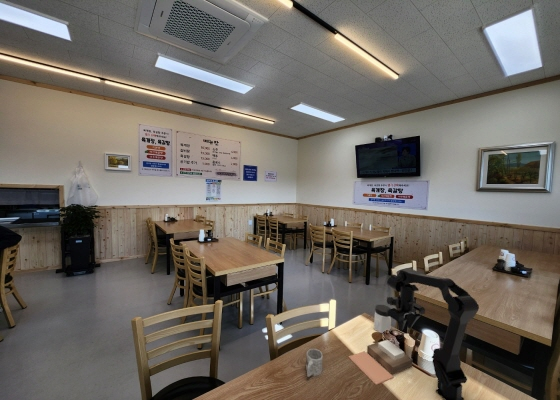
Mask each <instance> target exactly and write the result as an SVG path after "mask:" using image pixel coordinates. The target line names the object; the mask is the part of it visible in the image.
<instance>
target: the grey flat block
mask: <svg viewBox="0 0 560 400" xmlns="http://www.w3.org/2000/svg"><path fill="white" fill-rule="evenodd" d="M384 340H385V341H383V340H381V341H382V342H380V341H378V342H379V343H378V347H379V348H380V349H381V350H382V351H383V352H385V353H386V354H387V355H388V356H390V357H391V358H392V359H393V360H397V359H400V358H402V357H404V353H405V351H403V350H402V349H401V348H400V347H398V346H397V345H395V344H394V343H393V342H391V341H390V340H388V339H384Z"/></svg>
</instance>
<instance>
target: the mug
mask: <svg viewBox="0 0 560 400" xmlns="http://www.w3.org/2000/svg"><path fill="white" fill-rule="evenodd" d="M305 362H306V363H305V365H306V367H305V368H306V376H307V378H309V377H311V376H313V377H314V376H316V377H317V376H320V375H321V374H322V373H323V353H322V351H321V350H319V349H318V348H309V349H308V350H307V351H306V361H305Z"/></svg>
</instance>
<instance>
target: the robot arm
mask: <svg viewBox="0 0 560 400" xmlns="http://www.w3.org/2000/svg"><path fill="white" fill-rule="evenodd" d="M386 284H387V286H388V287H389V288H391V289H393V291H396V292H397V293H399V296H388V297H386V303H387V304H388V305H390V306H395V307H396V308H394V307H393V308H390V309H389V310H387V315H388V316H390V317H391V319H392V320H395V321H396V322H397V325H398V329H399V331H400V332H403V330H404V329H405V327H406V323H407V327H408V328H409V329H411V328H412V327H413V326H414V325H415V323H416V321H417V320H418V319H419V318H420V317H421V315H425V314H426V309H425V307H424V306H422V305H421V304H419V303H417V300H416V299H415V292H418V291H419V290H420V289H419V287H417V285H416V284H418V285H419V284H420V285H424V286H428V287H432V288H437V289H439V291H440V293H441V296H442V299H443V300H444V302H445V303H446V304H447V311H448V313H449V316H450V318H449V322H448V325H447V329H446V332H445V337H444V338H443V339H444V340H443V342H442V347H439V348H434V349H433V354H432V356H431V359H432V365H433V370H434V374H435V377H436V378H437V385H436V386H437V387H436V388H437V389H435V392H436V394H438V395H439V396H440V397H441V398H443V399H444V400H445V399H446V400H465V399H464V397H463V394H462V393H463V384H466V383H467V381H468V378H467V376H466V375H465V373H464V370H463V368H462V366H461V365H462V363H461V358H460V357H459V356H460V355H459V353H460V350H461V346H462V344H463V343H462V342H463V340H464V336H465V333H466V330H467V327H468V326H467V325H468V323H469V322H470V321H471V320H472V319H473V318H474V317H476V315H477V313H478V311H479V309H480V307H479V304H478V302H477V300H476V299H475V298H473V297H472V295H471V294H470V293H469V292H468V291H466V289H464V288H462V287H461V286H459V285H458V284H457V283H456V282H455V281H454V280H452V278H448V277H441V276H434V275H430V274H424V273H421V272H419V271H418V270H415V269H400V270H399V272H398V274H397V275H396V274H391V275H390V276H389V278H388V279H387V281H386ZM450 291H451V292H452V293H454V294H455V295H456V296H453V295H452V294H451V292H450ZM418 312H419V313H418ZM406 315H407V318H405V316H406Z"/></svg>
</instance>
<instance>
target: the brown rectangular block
mask: <svg viewBox="0 0 560 400" xmlns="http://www.w3.org/2000/svg"><path fill="white" fill-rule="evenodd" d="M385 340H386V339H384V340H381V341H378V342H375V343H372V344H369V345H366V346H367V347H366V353H367V354H368V355H370V356H371V357H372V358H373V359H374V360H375V361H376V362H377V363H379V364H380V365H381V366H382V367H383V368H384V369H385V370H386V371H388V372H389V373H390V374H391V375H392V376H395V375H397V374H399V373H402V372H404V371H406V370H409V369H411V368H413V358H411V357H410V356H409V355H407V354H406V353H405V352H404V357H402V358H400V359H397V360H393V359H392V358H391V357H390V356H388V355H387V354H386V353H385V352H383V351H382V350H381V349H380V348H379V347H378V343H379V342H382V341H385Z"/></svg>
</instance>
